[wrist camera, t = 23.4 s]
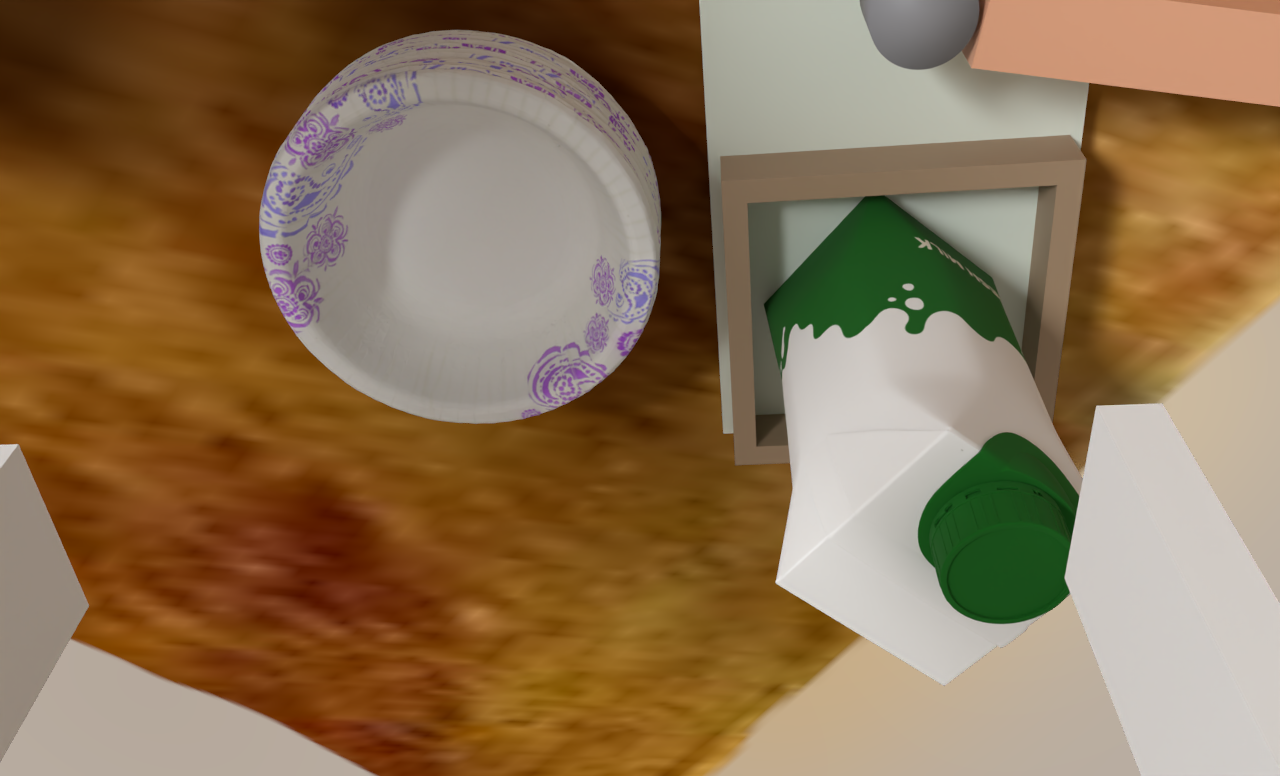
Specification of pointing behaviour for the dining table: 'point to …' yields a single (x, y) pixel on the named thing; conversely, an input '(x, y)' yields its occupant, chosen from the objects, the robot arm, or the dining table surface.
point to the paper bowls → (464, 228)
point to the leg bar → (1095, 41)
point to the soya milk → (916, 448)
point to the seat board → (874, 180)
